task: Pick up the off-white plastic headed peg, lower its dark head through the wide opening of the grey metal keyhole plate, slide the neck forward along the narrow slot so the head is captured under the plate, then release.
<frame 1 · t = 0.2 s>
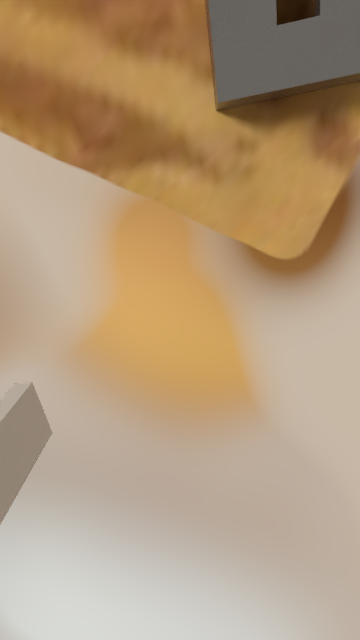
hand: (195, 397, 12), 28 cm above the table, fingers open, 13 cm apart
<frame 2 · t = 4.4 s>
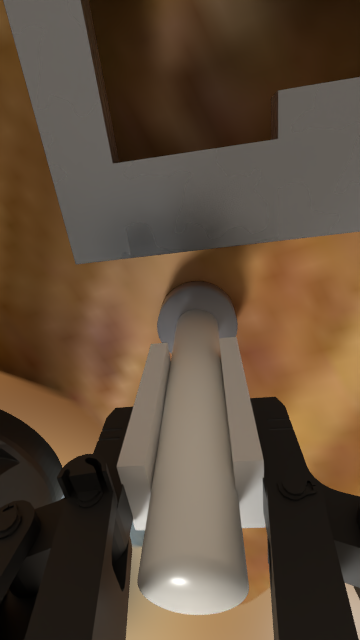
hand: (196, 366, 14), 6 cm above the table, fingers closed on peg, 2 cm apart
keyhole plate: (280, 61, 14), on the table
peg: (197, 316, 19), on the table, touching gripper
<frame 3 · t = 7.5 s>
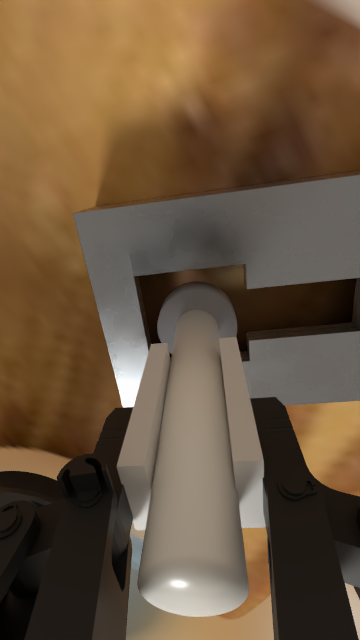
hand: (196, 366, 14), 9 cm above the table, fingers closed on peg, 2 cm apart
keyhole plate: (254, 291, 22), on the table
peg: (197, 317, 19), point 4 cm above the table, touching gripper
when the fingers open (6 cm above the table, at t = 10.8 s): peg stays where it is, resting in keyhole plate.
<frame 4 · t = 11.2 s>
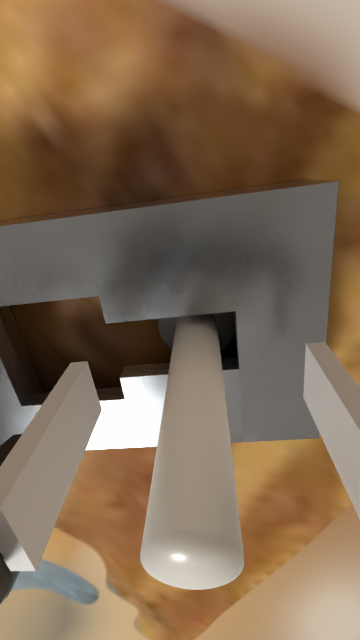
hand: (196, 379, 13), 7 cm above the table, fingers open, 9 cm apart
keyhole plate: (143, 318, 20), on the table
peg: (196, 313, 20), resting in keyhole plate
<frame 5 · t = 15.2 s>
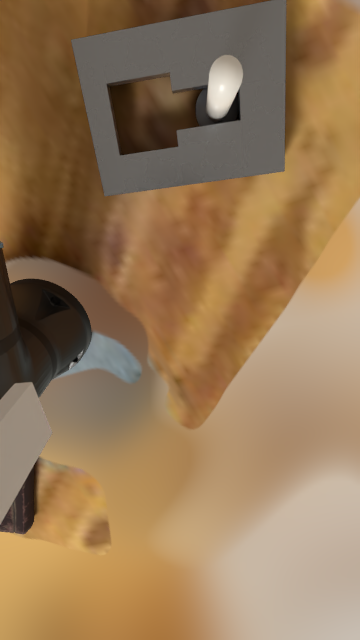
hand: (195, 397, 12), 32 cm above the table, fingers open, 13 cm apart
keyhole plate: (185, 115, 35), on the table
peg: (216, 111, 35), resting in keyhole plate
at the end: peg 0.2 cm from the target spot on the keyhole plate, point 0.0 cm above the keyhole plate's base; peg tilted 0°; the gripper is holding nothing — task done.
